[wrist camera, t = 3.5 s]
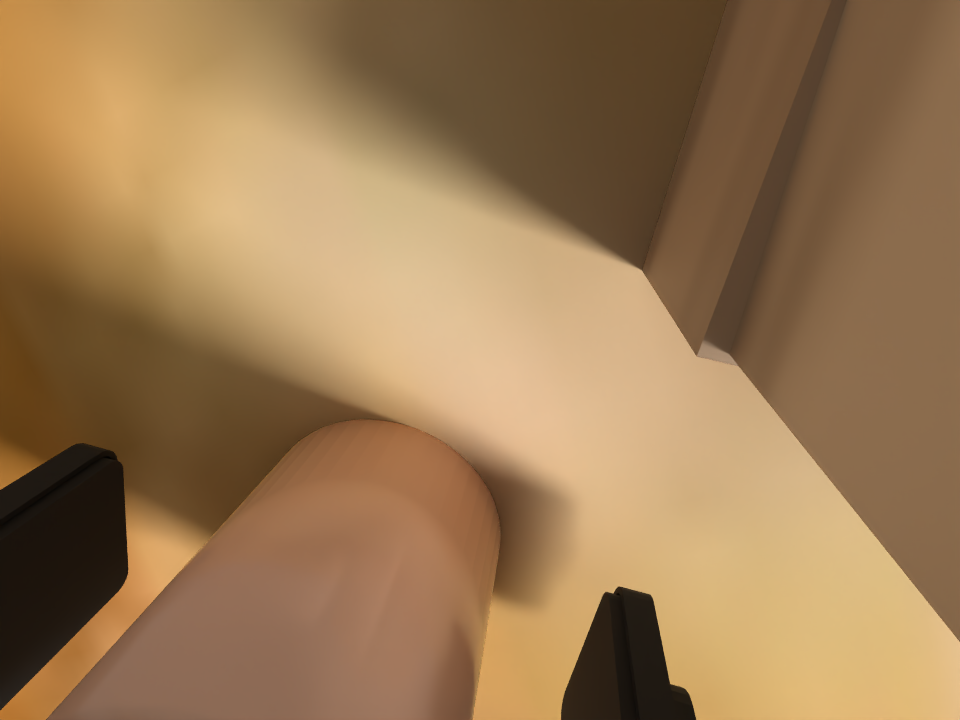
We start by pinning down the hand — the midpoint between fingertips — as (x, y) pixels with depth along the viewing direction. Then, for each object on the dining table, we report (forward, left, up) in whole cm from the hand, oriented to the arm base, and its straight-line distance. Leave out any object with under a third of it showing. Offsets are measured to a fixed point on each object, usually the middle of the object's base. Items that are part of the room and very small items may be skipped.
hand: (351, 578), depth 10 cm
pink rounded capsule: (0, 0, -2) cm, 2 cm away
